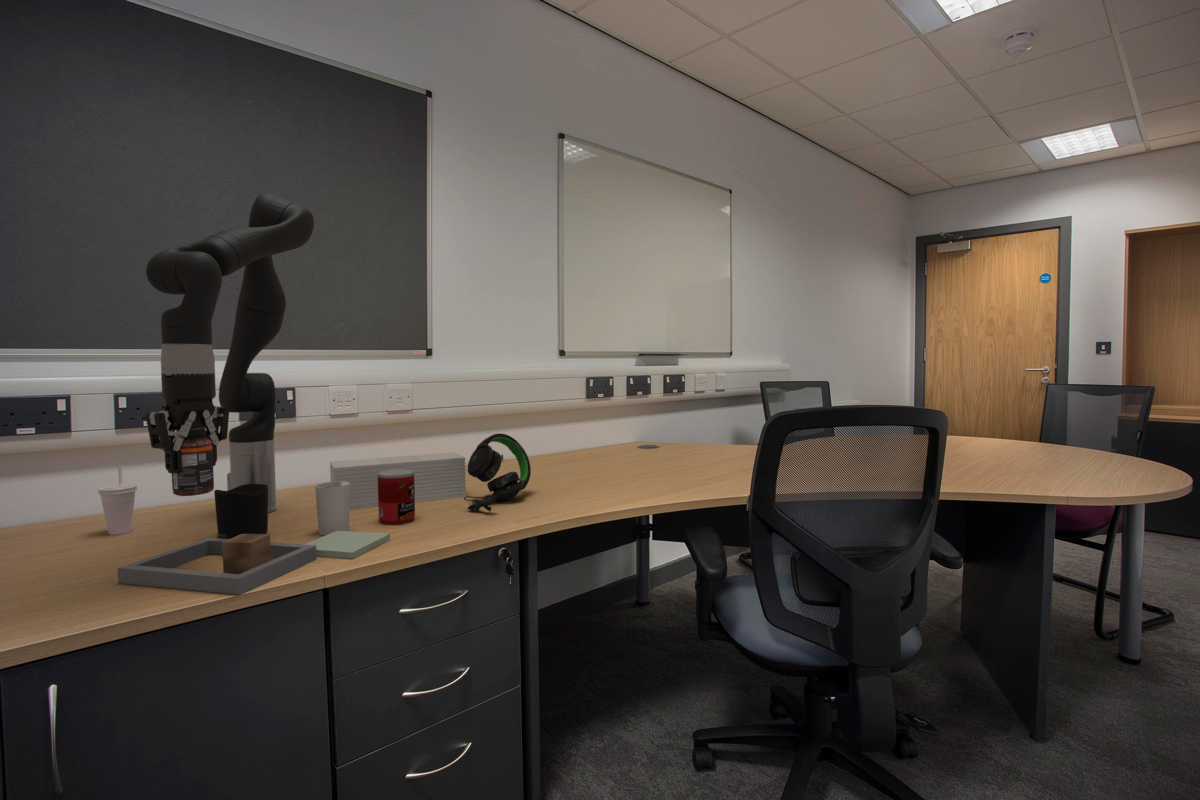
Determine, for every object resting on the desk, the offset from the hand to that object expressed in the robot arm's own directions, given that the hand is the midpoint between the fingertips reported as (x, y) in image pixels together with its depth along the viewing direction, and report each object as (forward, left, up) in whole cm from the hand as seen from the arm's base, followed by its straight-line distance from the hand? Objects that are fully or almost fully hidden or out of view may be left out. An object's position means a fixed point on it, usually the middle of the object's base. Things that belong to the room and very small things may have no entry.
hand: (192, 469), depth 102 cm
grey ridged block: (+5, +55, -18) cm, 58 cm away
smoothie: (-36, +15, -17) cm, 42 cm away
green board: (+17, +16, -17) cm, 29 cm away
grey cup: (+8, +25, -17) cm, 32 cm away
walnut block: (+10, 0, -17) cm, 20 cm away
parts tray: (+5, 0, -17) cm, 18 cm away
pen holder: (-8, +18, -18) cm, 26 cm away
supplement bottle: (0, 0, -4) cm, 4 cm away
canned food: (+16, +36, -18) cm, 43 cm away
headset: (+33, +58, -18) cm, 69 cm away
